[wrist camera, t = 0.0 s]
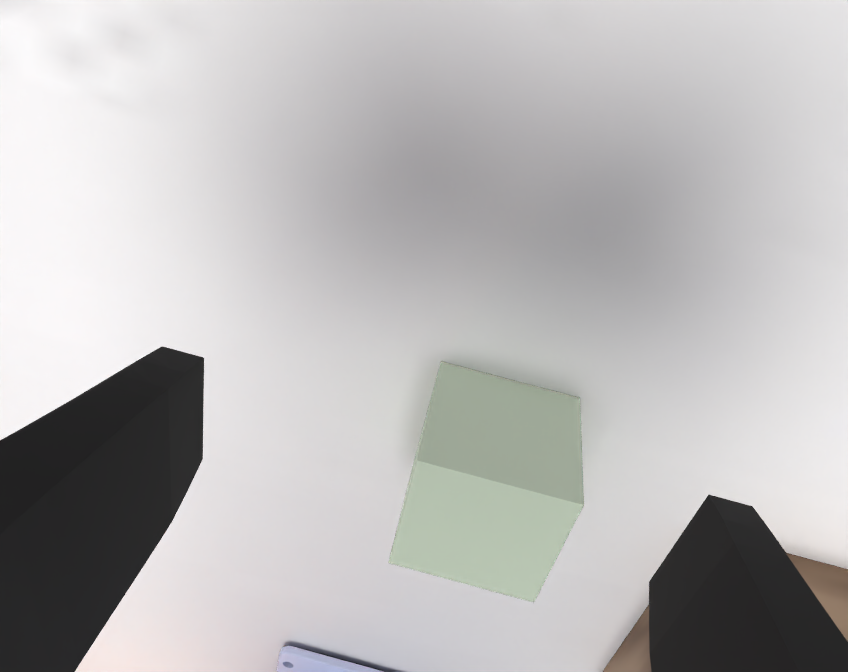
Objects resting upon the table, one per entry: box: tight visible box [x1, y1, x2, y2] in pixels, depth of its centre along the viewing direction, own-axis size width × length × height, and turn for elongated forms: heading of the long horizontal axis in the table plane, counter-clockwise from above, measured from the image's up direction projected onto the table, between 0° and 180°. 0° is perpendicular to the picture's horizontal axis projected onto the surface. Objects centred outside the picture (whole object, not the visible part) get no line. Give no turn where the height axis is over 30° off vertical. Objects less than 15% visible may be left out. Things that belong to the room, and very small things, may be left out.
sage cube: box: [388, 361, 584, 602], centre depth 21 cm, size 4×4×4 cm
